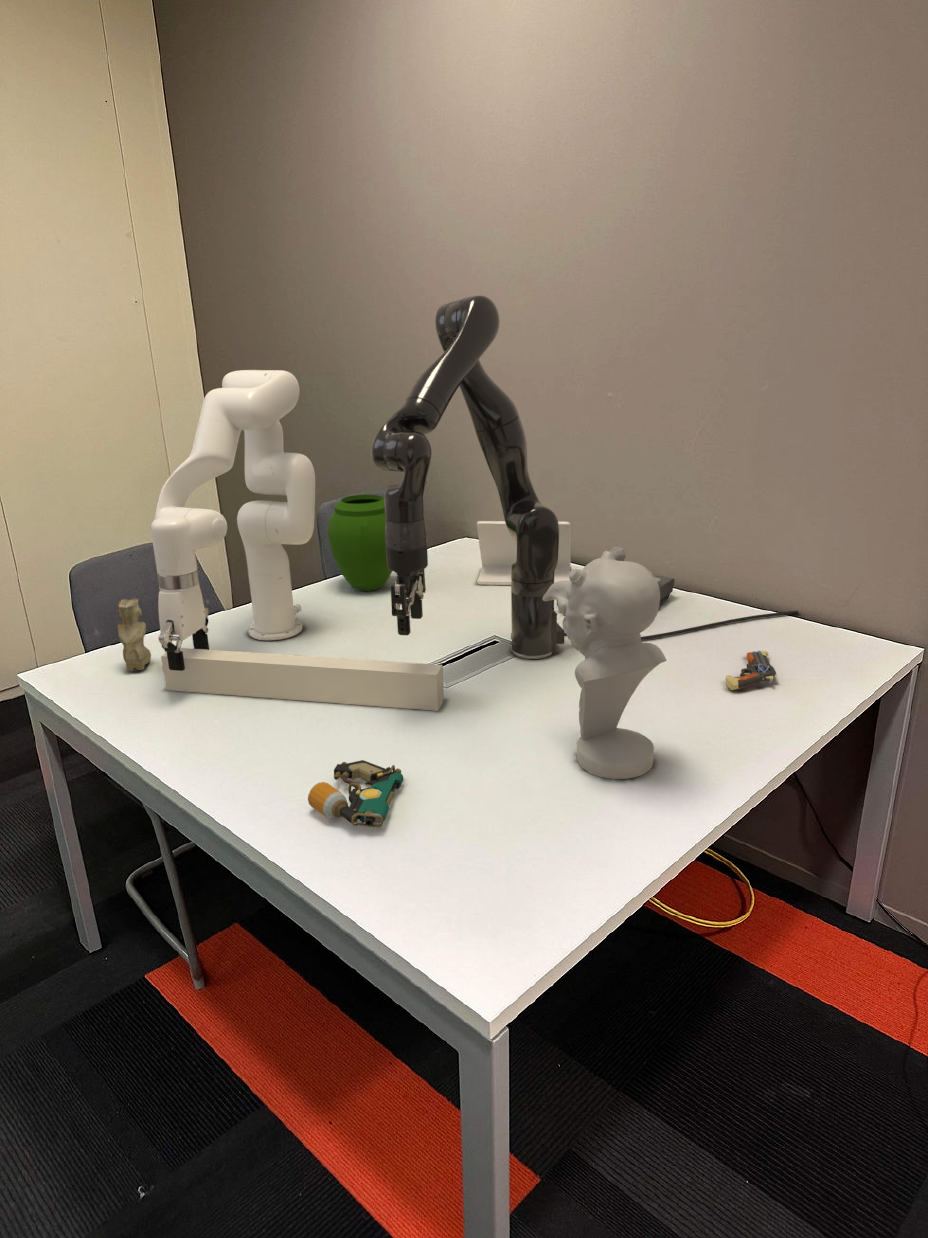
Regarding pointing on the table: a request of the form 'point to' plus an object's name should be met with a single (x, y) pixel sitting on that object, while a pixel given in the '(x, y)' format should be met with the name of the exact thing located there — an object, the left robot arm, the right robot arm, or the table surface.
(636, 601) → the bust sculpture
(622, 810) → the table surface
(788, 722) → the table surface
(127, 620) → the sculpture
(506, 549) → the tablet stand
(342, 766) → the spray gun
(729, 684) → the toy gun
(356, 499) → the vase
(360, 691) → the bar
